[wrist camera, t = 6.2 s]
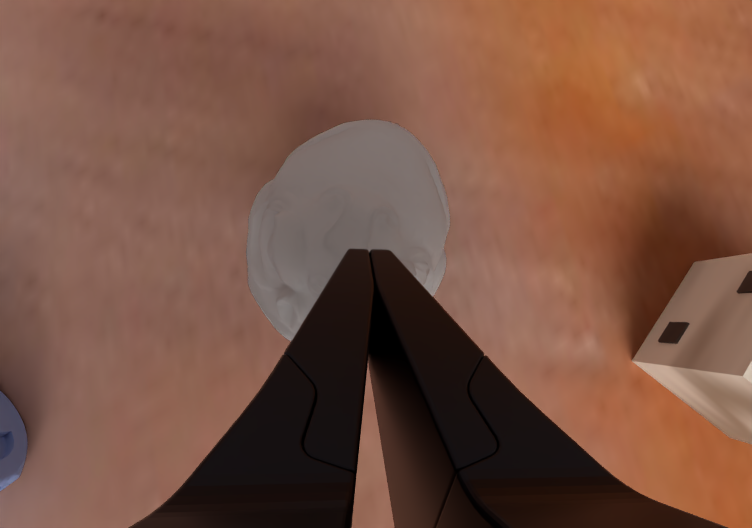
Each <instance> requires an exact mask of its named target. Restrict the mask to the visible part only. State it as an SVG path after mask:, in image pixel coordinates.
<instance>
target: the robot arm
mask: <svg viewBox="0 0 752 528" xmlns="http://www.w3.org/2000/svg"><path fill="white" fill-rule="evenodd" d="M368 363H369V370H370V377H371V383H372V389H373V395H374V401H375V408H376V414H377V420H378V426H379V433H380V439H381V445H382V451H383V457H384V464H385V470H386V476H387V482H388V488H389V495H390V501H391V507H392V513H393V520H394V526H395V528H728V527H725V526H722V525H720V524H717V523H714V522H712V521H709V520H706V519H703V518H701V517H698V516H695V515H693V514H690V513H687V512H684V511H682V510H679V509H676V508H674V507H671V506H668V505H666V504H663V503H660V502H658V501H655V500H653V499H650V498H648V497H646V496H644V495H642V494H640V493H638V492H637V491H635V490H634V489H632V488H630V487H629V486H627V485H625V484H624V483H623V482H621V481H620V480H619V479H617V478H616V477H614V476H613V475H612V474H611V473H610V472H608V471H607V470H606V469H605V468H604V467H602V466H601V465H600V464H599V463H598V462H597V461H596V460H595V459H594V458H593V457H591V456H590V455H589V454H588V453H587V452H586V451H585V450H584V449H583V448H581V447H580V446H579V445H578V444H577V443H576V442H575V441H574V440H573V439H571V438H570V437H569V436H568V435H567V434H566V433H565V432H564V431H563V430H561V429H560V428H559V427H558V426H557V425H556V424H555V423H554V422H553V421H551V420H550V419H549V418H548V417H547V416H546V415H545V414H544V413H543V412H542V411H540V410H539V409H538V408H537V407H536V406H535V405H534V404H533V403H532V402H531V401H530V400H529V399H528V398H527V397H526V396H525V395H524V394H522V393H521V392H520V391H519V390H518V389H517V388H516V387H515V386H514V385H513V383H512V382H511V381H510V380H509V379H508V378H507V377H506V376H505V375H504V374H503V373H502V372H501V371H500V370H499V369H498V368H497V367H496V366H495V364H494V363H493V362H492V361H491V360H490V359H489V358H488V357H487V356H484V353H483V351H482V350H481V349H480V348H479V347H478V346H477V345H476V344H475V343H474V342H473V340H472V339H471V338H470V337H469V336H468V335H467V334H466V333H465V332H464V331H463V329H462V328H461V327H460V326H459V325H458V324H457V323H456V322H455V321H454V320H453V318H452V317H451V316H450V315H449V314H448V313H447V312H446V311H445V310H444V308H443V307H442V306H441V305H440V304H439V303H438V302H437V301H436V300H435V299H434V297H433V296H432V295H431V294H430V293H429V292H428V291H427V290H426V289H425V288H424V286H423V285H422V284H421V283H420V282H419V281H418V280H417V279H416V278H415V277H414V275H413V274H412V273H411V272H410V271H409V270H408V269H407V268H406V267H405V265H404V264H403V263H402V262H401V261H400V260H399V259H398V258H397V257H396V256H395V254H394V253H393V252H392V251H390V250H387V249H372V250H370V252H369V251H368V250H367V249H355V248H350V249H348V250H347V251H346V253H345V255H344V256H343V258H342V259H341V261H340V263H339V264H338V266H337V268H336V269H335V271H334V272H333V274H332V276H331V277H330V279H329V281H328V282H327V284H326V285H325V287H324V289H323V290H322V292H321V294H320V295H319V297H318V298H317V300H316V302H315V303H314V305H313V307H312V308H311V310H310V311H309V313H308V315H307V316H306V318H305V320H304V321H303V323H302V324H301V326H300V328H299V329H298V331H297V333H296V334H295V336H294V337H293V339H292V341H291V342H290V344H289V346H288V347H287V349H286V351H285V353H284V355H282V357H281V358H280V360H279V361H278V363H277V365H276V366H275V368H274V370H273V371H272V373H271V374H270V376H269V377H268V379H267V380H266V382H265V383H264V385H263V386H262V388H261V389H260V391H259V392H258V393H257V395H256V396H255V397H254V398H253V400H252V401H251V402H250V404H249V405H248V406H247V407H246V409H245V410H244V411H243V413H242V414H241V415H240V416H239V418H238V419H237V420H236V421H235V422H234V424H233V425H232V426H231V427H230V428H229V430H228V431H227V432H226V433H225V434H224V436H223V437H222V438H221V439H220V441H219V442H218V443H217V444H216V445H215V447H214V448H213V449H212V450H211V451H210V453H209V454H208V455H207V456H206V457H205V459H204V460H203V461H202V462H201V463H200V465H199V466H198V467H197V468H196V470H195V471H194V472H193V473H192V474H191V476H190V477H189V478H188V479H187V480H186V481H185V483H184V484H183V485H182V486H181V487H180V488H179V489H178V490H177V491H176V492H175V493H174V494H173V495H172V496H171V497H170V498H169V499H168V500H167V501H166V502H165V503H164V504H162V505H161V506H160V507H159V508H158V509H156V510H155V511H154V512H152V513H151V514H150V515H148V516H147V517H145V518H144V519H142V520H140V521H139V522H137V523H135V524H134V525H132V526H130V527H129V528H351V527H352V515H353V505H354V494H355V484H356V473H357V464H358V454H359V444H360V434H361V424H362V414H363V404H364V394H365V384H366V374H367V364H368Z"/></svg>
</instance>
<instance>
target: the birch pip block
mask: <svg viewBox="0 0 752 528" xmlns="http://www.w3.org/2000/svg"><path fill="white" fill-rule="evenodd" d="M632 362H634V363H635V364H636V365H638V366H639V367H640V368H641V369H643V370H644V371H645V372H646V373H648V374H649V375H650V376H652V377H653V378H654V379H655V380H657V381H658V382H659V383H661V384H662V385H663V386H664V387H666V388H667V389H668V390H669V391H671V392H672V393H673V394H675V395H676V396H677V397H678V398H680V399H681V400H682V401H684V402H685V403H686V404H687V405H689V406H690V407H691V408H692V409H694V410H695V411H696V412H698V413H699V414H700V415H701V416H703V417H704V418H705V419H706V420H708V421H709V422H710V423H712V424H713V425H714V426H715V427H717V428H718V429H719V430H721V431H722V432H723V433H724V434H726V435H727V436H728V437H729V438H732V439H735V440H739V441H742V442H745V443H749V444H752V253H750V254H743V255H736V256H730V257H723V258H717V259H710V260H704V261H697V262H694V263H693V265H692V266H691V268H690V270H689V271H688V273H687V274H686V276H685V277H684V279H683V281H682V282H681V284H680V285H679V287H678V289H677V290H676V292H675V293H674V295H673V296H672V298H671V300H670V301H669V303H668V304H667V306H666V307H665V309H664V311H663V312H662V314H661V315H660V317H659V319H658V320H657V322H656V323H655V325H654V326H653V328H652V330H651V331H650V333H649V334H648V336H647V338H646V339H645V341H644V342H643V344H642V345H641V347H640V349H639V350H638V352H637V353H636V355H635V357H634V358H633V360H632Z"/></svg>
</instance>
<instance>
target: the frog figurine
mask: <svg viewBox="0 0 752 528" xmlns="http://www.w3.org/2000/svg"><path fill="white" fill-rule="evenodd" d="M449 228H450V212H449V207H448V200H447V195H446V192H445V188H444V185H443V183H442V181H441V178H440V175H439V172H438V169H437V167H436V164H435V162H434V161H433V159H432V157H431V156H430V154H429V152H428V151H427V149H426V148H425V147H424V146H423V145H422V144H421V142H420V141H419V140H418V139H417V138H416V137H415V136H414V135H413V134H411V133H410V132H409V131H408V130H406V129H405V128H403V127H400V126H399V125H398V124H396V123H391V122H389V121H383V120H369V119H366V120H359V121H352V122H346V123H343V124H340V125H338V126H335V127H333V128H331V129H329V130H327V131H325V132H323V133H320V134H318V135H316V136H315V137H313V138H311V139H309V140H308V141H307V142H305V143H303V144H302V145H300V146H299V147H297V148H296V149H295V150H294V151H293V152H292V153H291V154H290V155H289V156H288V157H287V158H286V160H285V162H284V164H283V165H282V167H281V168H280V170H279V171H278V172H277V175H276V176H275V178H274V179H272V180H271V181H269V182H268V183H266V184H265V185H264V186H263V187H262V188H261V190H260V191H259V192H258V194H257V195H256V198H255V200H254V203H253V205H252V208H251V212H250V215H249V218H248V238H247V249H246V256H247V265H248V285H249V288H250V291H251V293H252V295H253V297H254V299H255V300H256V302H257V303H258V305H259V307H260V308H261V310H262V311H263V313H264V314H265V316H266V317H267V318H268V320H269V321H270V322H271V324H272V325H273V326H274V328H275V329H276V330H277V331H278V332H279V333H280V334H281V335H283V336H284V337H285V338H286V339H288V340H289V341H292V339H293V337H294V336H295V334H296V333H297V331H298V329H299V328H300V326H301V324H302V323H303V321H304V320H305V318H306V316H307V315H308V313H309V311H310V310H311V308H312V307H313V305H314V303H315V302H316V300H317V298H318V297H319V295H320V294H321V292H322V290H323V289H324V287H325V285H326V284H327V282H328V281H329V279H330V277H331V276H332V274H333V272H334V271H335V269H336V268H337V266H338V264H339V263H340V261H341V259H342V258H343V256H344V255H345V253H346V251H347V250H348V249H350V248H355V249H367V250H368V251H369V252H370V250H372V249H387V250H390V251H392V252H393V253H394V254H395V256H396V257H397V258H398V259H399V260H400V261H401V262H402V263H403V264H404V265H405V267H406V268H407V269H408V270H409V271H410V272H411V273H412V274H413V275H414V277H415V278H416V279H417V280H418V281H419V282H420V283H421V284H422V285H423V286H424V288H425V289H426V290H427V291H428V292H429V293H430V294H431V295H432V296H434V294H435V293H436V291H437V289H438V287H439V285H440V283H441V281H442V278H443V276H444V273H445V269H446V254H445V250H444V249H443V248H444V245H445V241H446V237H447V233H448V231H449Z"/></svg>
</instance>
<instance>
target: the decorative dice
mask: <svg viewBox="0 0 752 528" xmlns="http://www.w3.org/2000/svg"><path fill="white" fill-rule="evenodd" d="M26 454H27V434H26V430H25V426H24V424H23V421H22V419H21V417H20V415H19V413H18V411H17V410H16V408H15V407H14V405H13V404H12V403H11V401H10V400H9V399H8V398H7V397H6V396H5V395H4V394H3V393H2V392H1V391H0V491H1V490H3V489H4V488H5V487H7V486H8V485H10V484H11V483H12V482H14V481H15V480H16V479H18V478H19V477H20V475H21V472H22V469H23V467H24V463H25V459H26Z"/></svg>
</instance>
